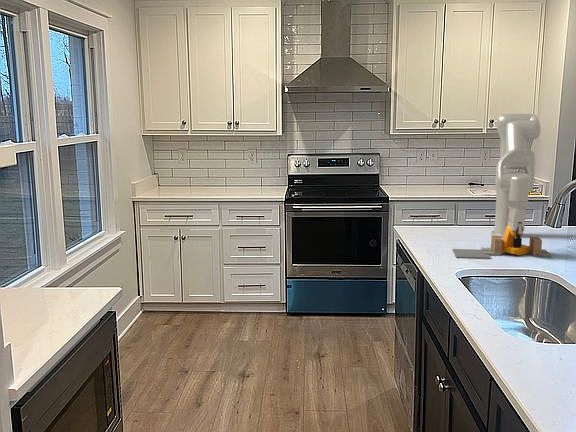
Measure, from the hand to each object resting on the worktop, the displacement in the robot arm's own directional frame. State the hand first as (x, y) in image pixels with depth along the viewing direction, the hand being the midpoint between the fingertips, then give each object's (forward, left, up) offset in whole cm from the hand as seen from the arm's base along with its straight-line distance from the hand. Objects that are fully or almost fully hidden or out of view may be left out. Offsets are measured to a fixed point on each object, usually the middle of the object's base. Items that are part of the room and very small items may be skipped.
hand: (515, 245), depth 243 cm
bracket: (0, 0, -3) cm, 3 cm away
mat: (+4, -19, -3) cm, 20 cm away
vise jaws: (0, 0, -3) cm, 4 cm away
